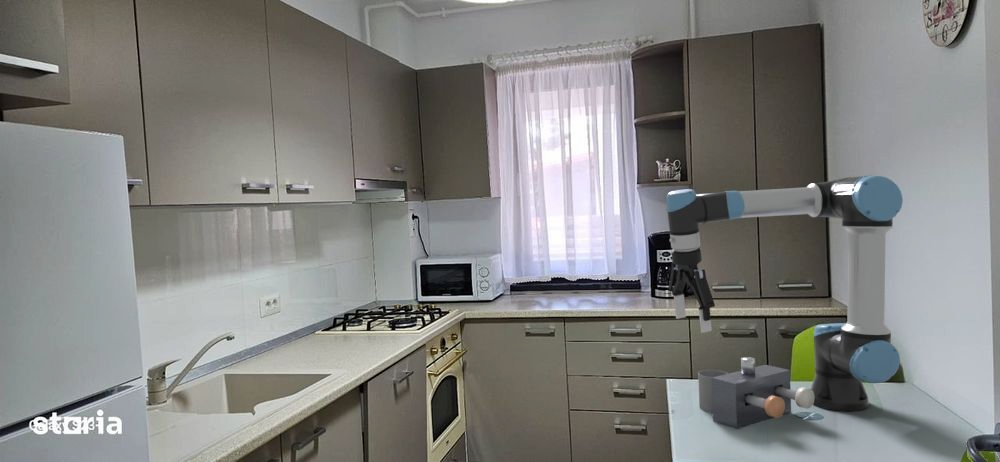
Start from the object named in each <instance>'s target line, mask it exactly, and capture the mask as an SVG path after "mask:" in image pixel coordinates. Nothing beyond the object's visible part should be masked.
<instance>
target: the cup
mask: <svg viewBox="0 0 1000 462" xmlns="http://www.w3.org/2000/svg"><path fill="white" fill-rule="evenodd" d="M725 374H729V372H726V371H725V370H717V369H706V370H700V371H698V373H697V375H698V377H697V378H698V400H699V401H698V403H699V409H700V410H702V411H705V412H709V413H713V402H712V377H716V376H721V375H725Z"/></svg>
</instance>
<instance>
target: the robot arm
mask: <svg viewBox="0 0 1000 462" xmlns="http://www.w3.org/2000/svg"><path fill="white" fill-rule="evenodd" d="M902 206H903V194H902V191H901V190H900V187H899V186H898V185H897V184H896V183H895V182H894V181H893V180H892V179H890V178H888V177H885V176H882V175H873V174H872V175H871V174H870V175H863V176H853V177H851V176H850V177H842V178H839V179H834V180H829V181H824V182H817V183H815V182H814V183H810V184H808V185H807V186H806V187H793V188H792V187H790V188H776V189H775V188H773V189H771V188H770V189H759V190H758V189H757V190H725V191H721V192H711V193H710V192H709V193H708V192H707V193H702V192H701V193H696V191H695V189H691V188H686V189H676V190H672V191H670V192H668V193H667V195H666V211H667V218H668V228H669V237H670V238H669V242H670V247H671V249H672V250H671V259H672V262H671V271H670V279H669V284H668V291H669V292H671V294H672V296H673V300H674V301H673V303H674V312H675V319H677V320H678V319H682V318H687V313H686V305H685V304H686V302H685V294H684V293H685V291H684V289H685V286H686V285H688V287H690V288H691V289H692V292H693V294H694V296H695V298H696V300H697V302H698V305H699V307H698V315H699V324H700V325H699V326H700V332H701V333H702V334H703V333H708V332H712V330H713V328H712V318H711V317H712V316H711V308H714V307H716V304H715V301H714V298H713V296H712V292H711V289H710V285H709V283H708V280H707V276H706V271H705V269H699V268H698V265H699V263H701V262H702V249H701V248H700V247H701V239H700V238H701V237H700V227H699V226H700V225H705V224H708V223H716V222H722V221H724V222H725V221H732V220H735V219H744V218H745V219H746V218H761V217H776V216H777V217H778V216H794V215H795V216H798V215H808V216H809V217H811V218H821V217H822V218H834V219H841V225H842V226H841V228H842V229H844V230H845V231H846V233H847V234H848V238H847V239H848V243H847V247H848V248H847V249H848V251H847V256H848V257H847V313H846V314H847V317H846V318H847V319H846V320H847V321H846V323H845V322H843V323H840V322H839V323H836V322H835V323H823V324H822V323H821V324H818V325H816V326H814V329H813V342H814V344H813V345H814V346H813V349H814V368H815V369H814V371H815V372H814V373H815V374H814V377H813V381H812V384H811V388H810V389H811V390H813V392H814V396H815V399H814V403H813V406H816V407H819V408H822V409H826V410H833V411H839V412H840V411H841V412H842V411H843V412H851V411H852V412H854V411H855V412H857V411H861V410H866V409H868V408H869V406H870V405H869V396H868V393H867V391H866V388H865V386H864V383H863V382H865V383H868V384H881V383H884V382H887V381H888V380H890V379H891V378H892V377H893V376H895V375H896V373H897V371H898V370H899V367H900V364H901V356H900V353H899V351H898V350H897V348H896V347H895V346H894V344H892V339H891V338H892V334H891V333H892V331H891V330H890V328H888V327H887V325H885V307H886V306H885V304H886V303H885V301H886V300H885V299H886V296H885V293H886V291H885V290H886V288H885V286H886V234H887V233H888V232H889V231H890V230H892V229H893V221H894V220H893V218H895V217H897V214H898V213H899V212H900V211H901V210H902Z"/></svg>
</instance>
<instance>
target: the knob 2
mask: <svg viewBox="0 0 1000 462" xmlns="http://www.w3.org/2000/svg"><path fill="white" fill-rule="evenodd" d="M775 395H778V396H782V397H786V398H789V399H791V400H794V401H795V404H796V406H797V407H799V408H803V409H807V410H808V409H811V408H812V407H813V406H814V404H813V403H814V399H815V396H814V392H813V390H811V388H807V387H803V386H801V387H799V388H798V389H797V390H794V389H791V390H790V389H786V388H782V387H778V386H775Z"/></svg>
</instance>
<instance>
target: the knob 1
mask: <svg viewBox="0 0 1000 462" xmlns="http://www.w3.org/2000/svg"><path fill="white" fill-rule="evenodd" d="M745 403H747V404H751V405H754V406H757V407H761V408H764V409H765V411H766V413H767V415H769V416H772V417H775V419H779V418H781V417H782V416H784V415H783V413H784V410H785V402H784V400H783V399H782V398H781V397H777V396H773V395H772V396H769V397H768V398H767V399H763V398H760V397H756V396H752V395H749V394H746V395H745Z"/></svg>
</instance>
